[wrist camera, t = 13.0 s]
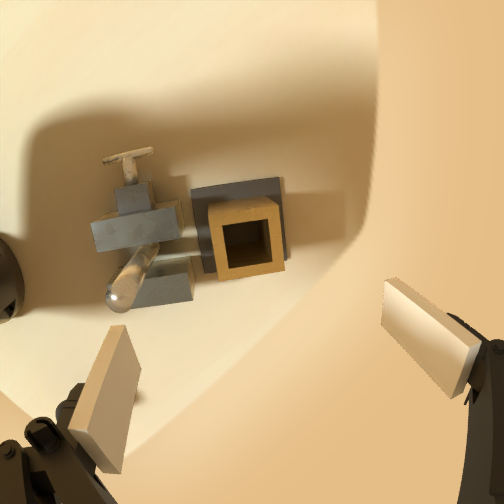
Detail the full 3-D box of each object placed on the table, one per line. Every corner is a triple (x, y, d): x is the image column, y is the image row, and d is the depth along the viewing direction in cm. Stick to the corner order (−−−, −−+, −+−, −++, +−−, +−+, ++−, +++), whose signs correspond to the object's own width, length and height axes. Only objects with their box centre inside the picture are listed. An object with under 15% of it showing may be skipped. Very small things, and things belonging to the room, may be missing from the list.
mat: (204, 271, 40) (204, 273, 39) (190, 189, 36) (190, 189, 36) (286, 258, 41) (287, 260, 40) (277, 177, 37) (279, 177, 37)
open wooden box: (217, 257, 39) (218, 281, 31) (208, 203, 37) (207, 215, 29) (270, 248, 40) (284, 270, 32) (264, 195, 37) (278, 205, 30)
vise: (126, 290, 39) (90, 356, 25) (97, 160, 34) (35, 166, 19) (195, 280, 40) (189, 347, 26) (172, 144, 34) (145, 134, 20)
